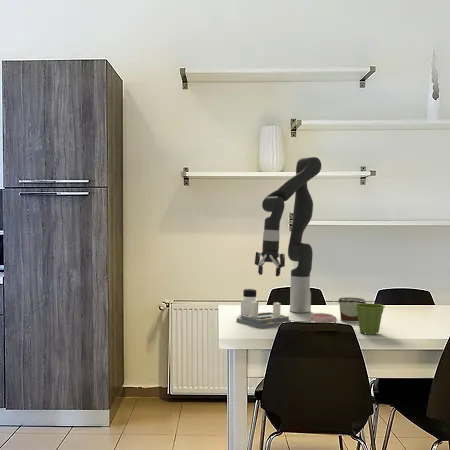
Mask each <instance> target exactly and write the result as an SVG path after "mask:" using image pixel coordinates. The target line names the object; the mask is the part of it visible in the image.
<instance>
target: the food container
mask: <svg viewBox="0 0 450 450" xmlns="http://www.w3.org/2000/svg"><path fill="white" fill-rule="evenodd" d="M337 303H338V304H339V314H340V321H341V322H349V321H358V314H357V311H356V306H355V304H362V303H367V301H366V299H365V298H362V297H350V296H348V297H339V299H338V300H337Z"/></svg>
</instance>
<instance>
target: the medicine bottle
mask: <svg viewBox="0 0 450 450" xmlns="http://www.w3.org/2000/svg"><path fill="white" fill-rule="evenodd" d="M242 291H243V296H242V299H241V300H240V316H241V315H249V314H250V303H251V302H258V303H259V298H257V290H256V289H255V288H245V289H243V290H242ZM257 313H259V306H258V307H257Z"/></svg>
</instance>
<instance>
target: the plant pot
mask: <svg viewBox="0 0 450 450" xmlns="http://www.w3.org/2000/svg"><path fill="white" fill-rule="evenodd" d="M355 306H356V311H357V314H358V321H359V322H358V325H359V333H360V332H362V333H361V334H363V333H366V334H367V335H369V334H373V335H376V334H375V333H378V332H379V333H380V328H381V322H382V317H383V316H382V315H383V312H384V309H385V307H386V306H385V305H384V304H379V303H367V302H366V303H362V304H355ZM379 333H378V334H379ZM366 334H365V335H366Z"/></svg>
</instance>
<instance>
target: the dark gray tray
mask: <svg viewBox="0 0 450 450" xmlns="http://www.w3.org/2000/svg"><path fill="white" fill-rule="evenodd" d="M240 316H241V317H237V318H236V322H237V323H240V324H244V325H248V326H250V327H255V328H257V329H260V330H261V329H268V328H269V329H270V328H275V327H280V326H279V325H280V324H281V323H283V322H291V321H294V320H293V319H290V316H287V315H282V314H280V317H278V318H271V317H273V311H272V312H271V311H268V312H267V311H266V312H265V311H262V312H258V313H257V316H254V317H249V316H250V314H249V315H241V314H240Z"/></svg>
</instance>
